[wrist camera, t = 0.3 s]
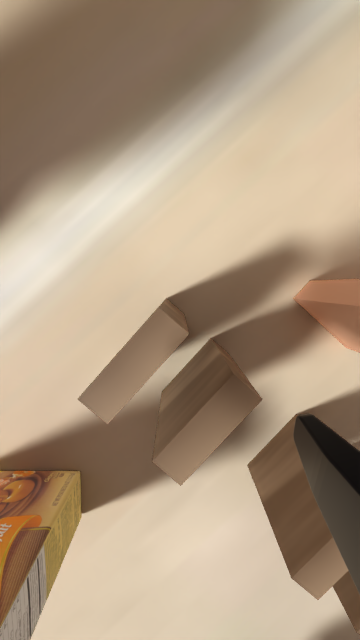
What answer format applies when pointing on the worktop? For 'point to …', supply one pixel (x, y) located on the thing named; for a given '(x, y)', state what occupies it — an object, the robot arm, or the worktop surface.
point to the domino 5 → (349, 598)
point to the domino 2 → (200, 411)
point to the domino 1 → (136, 362)
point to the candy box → (33, 542)
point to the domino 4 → (296, 515)
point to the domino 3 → (335, 308)
